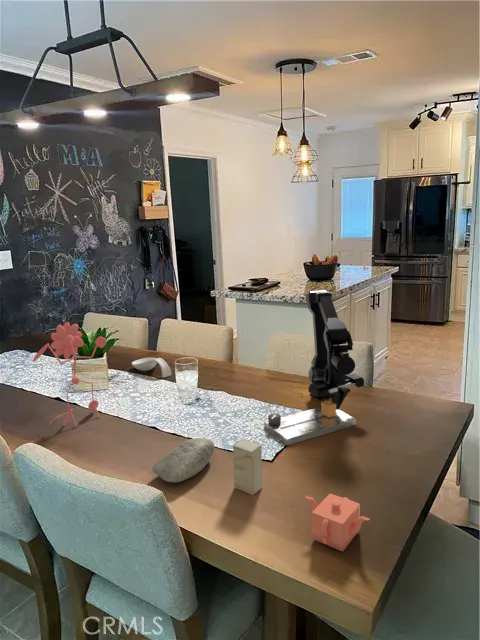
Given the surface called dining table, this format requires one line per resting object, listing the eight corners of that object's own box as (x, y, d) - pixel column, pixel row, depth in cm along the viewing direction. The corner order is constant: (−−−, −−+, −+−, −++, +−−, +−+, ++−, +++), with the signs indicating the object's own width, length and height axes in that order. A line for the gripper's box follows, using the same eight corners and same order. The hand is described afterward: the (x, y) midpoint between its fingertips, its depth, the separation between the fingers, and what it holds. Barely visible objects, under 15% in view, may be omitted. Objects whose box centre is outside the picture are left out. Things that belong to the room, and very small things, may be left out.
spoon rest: (127, 369, 221) (126, 354, 220) (149, 363, 229) (147, 348, 228) (157, 381, 205) (155, 365, 203) (179, 373, 213) (177, 358, 211)
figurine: (120, 409, 176) (108, 316, 168) (56, 437, 157) (38, 333, 149) (95, 401, 186) (83, 313, 178) (32, 426, 166) (15, 329, 159)
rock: (228, 459, 136) (175, 496, 122) (200, 450, 144) (147, 484, 130) (224, 435, 135) (170, 469, 120) (196, 427, 142) (142, 458, 128)
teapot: (318, 510, 113) (318, 479, 111) (380, 534, 104) (380, 500, 102) (292, 539, 104) (291, 505, 102) (357, 567, 95) (357, 531, 93)
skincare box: (233, 488, 123) (231, 445, 121) (244, 480, 127) (241, 438, 124) (253, 496, 120) (251, 451, 117) (263, 487, 123) (261, 444, 120)
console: (329, 409, 167) (329, 404, 167) (355, 424, 155) (355, 419, 154) (264, 427, 156) (264, 421, 156) (286, 445, 144) (286, 439, 143)
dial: (271, 418, 157) (270, 412, 157) (282, 420, 155) (282, 414, 155) (266, 424, 153) (266, 417, 153) (278, 425, 152) (278, 419, 151)
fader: (328, 411, 160) (328, 399, 159) (336, 415, 157) (336, 403, 156) (321, 413, 159) (321, 401, 158) (328, 417, 156) (328, 405, 155)
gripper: (344, 353, 167) (344, 395, 170) (298, 363, 159) (299, 407, 162) (365, 361, 157) (365, 406, 160) (318, 372, 149) (318, 419, 153)
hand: (336, 409), depth 159 cm, fingers closed
